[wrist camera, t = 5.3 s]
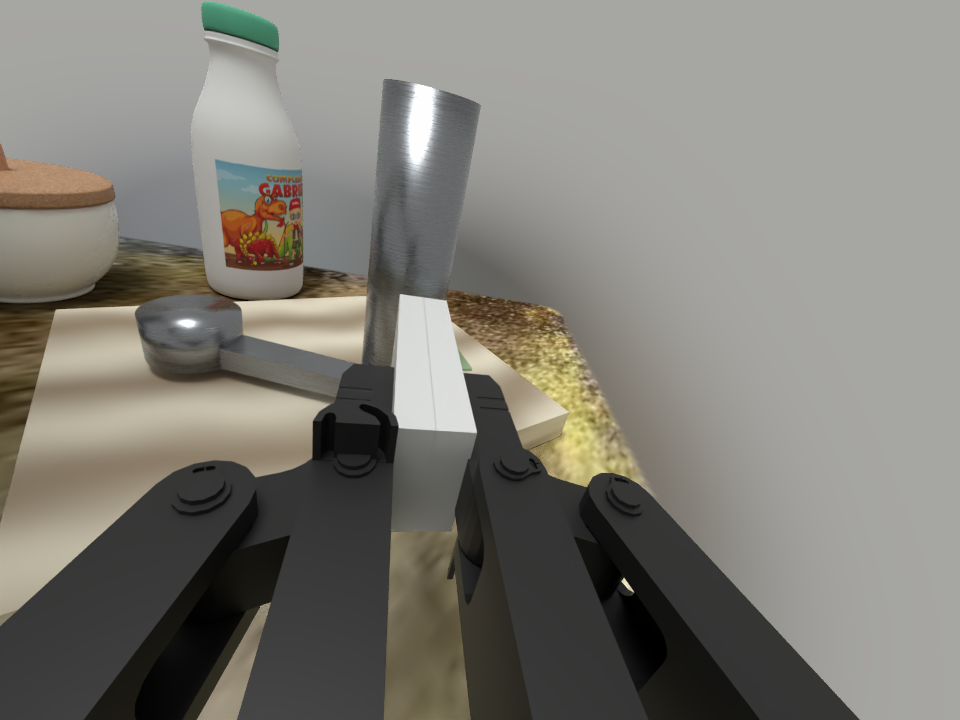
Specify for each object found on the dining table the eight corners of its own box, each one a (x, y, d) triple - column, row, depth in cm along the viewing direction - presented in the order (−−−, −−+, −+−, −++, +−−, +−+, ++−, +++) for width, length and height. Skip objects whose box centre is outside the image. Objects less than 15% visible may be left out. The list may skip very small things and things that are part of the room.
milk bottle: (189, 294, 32) (141, -26, 23) (230, 267, 39) (206, 11, 29) (289, 308, 34) (282, 14, 24) (312, 280, 40) (313, 41, 31)
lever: (120, 360, 19) (24, -12, 13) (190, 326, 23) (145, 30, 16) (434, 440, 19) (502, 102, 12) (451, 392, 23) (510, 118, 16)
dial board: (65, 339, 24) (54, 306, 23) (412, 312, 38) (415, 291, 37) (2, 664, 11) (-30, 620, 10) (559, 436, 26) (569, 409, 25)
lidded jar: (148, 268, 35) (125, 152, 30) (113, 319, 27) (76, 170, 22) (-32, 258, 30) (-90, 117, 25) (-142, 317, 22) (-255, 125, 17)
